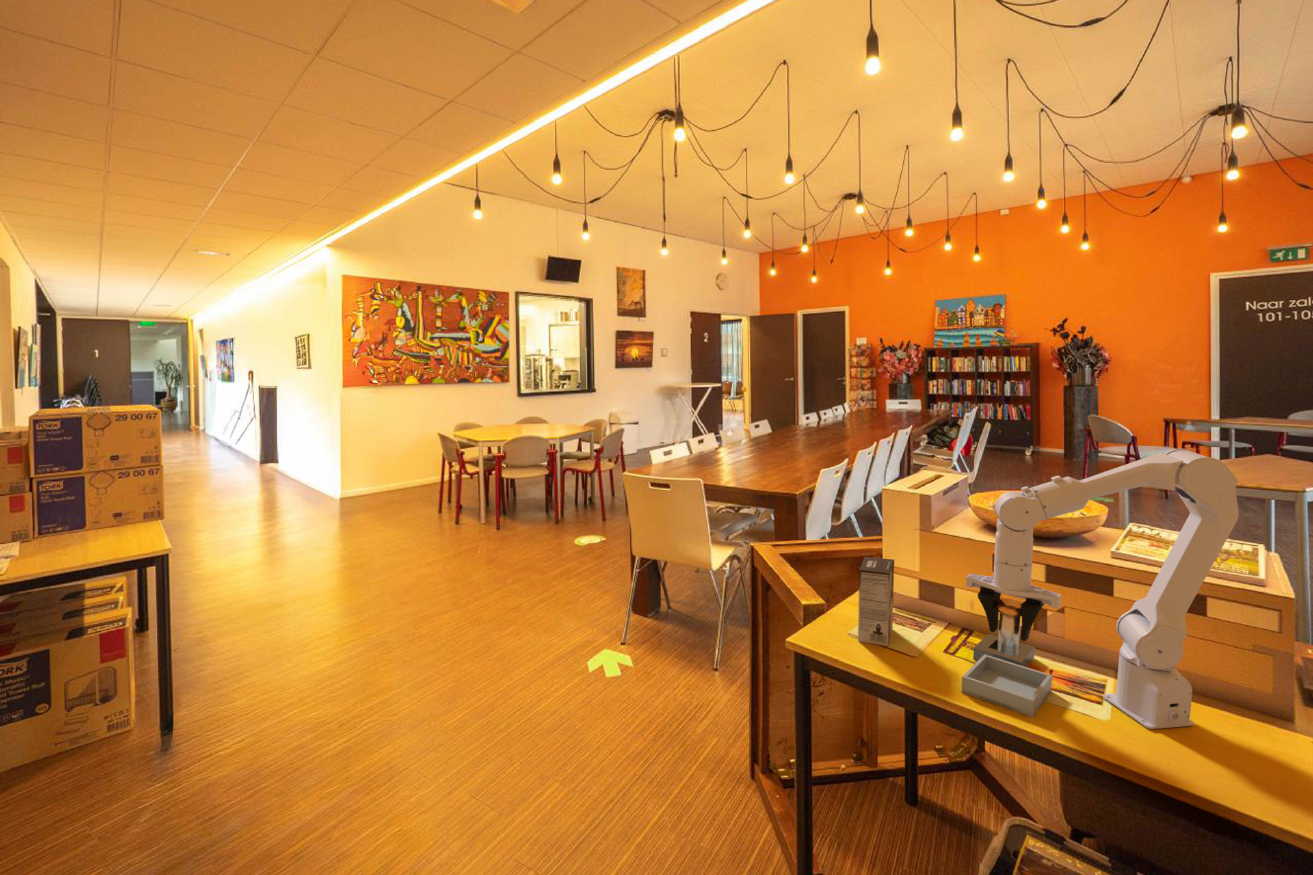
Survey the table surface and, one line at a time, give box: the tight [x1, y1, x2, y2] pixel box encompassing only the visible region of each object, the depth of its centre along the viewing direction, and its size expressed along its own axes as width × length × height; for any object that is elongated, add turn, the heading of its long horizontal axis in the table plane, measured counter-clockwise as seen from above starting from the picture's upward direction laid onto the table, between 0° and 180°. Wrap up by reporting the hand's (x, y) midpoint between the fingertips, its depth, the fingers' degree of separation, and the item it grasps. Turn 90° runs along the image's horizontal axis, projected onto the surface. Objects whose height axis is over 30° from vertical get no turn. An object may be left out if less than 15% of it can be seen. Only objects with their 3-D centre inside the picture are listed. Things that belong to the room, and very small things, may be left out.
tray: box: [961, 654, 1053, 719], centre depth 109 cm, size 11×11×3 cm
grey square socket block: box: [972, 633, 1036, 668], centre depth 120 cm, size 8×8×2 cm
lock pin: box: [996, 598, 1023, 656], centre depth 109 cm, size 5×5×9 cm
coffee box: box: [857, 556, 895, 647], centre depth 131 cm, size 9×6×16 cm
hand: (1008, 634), depth 109 cm, fingers closed on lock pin, 4 cm apart
